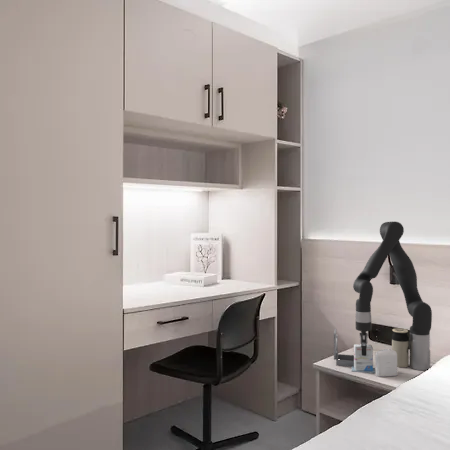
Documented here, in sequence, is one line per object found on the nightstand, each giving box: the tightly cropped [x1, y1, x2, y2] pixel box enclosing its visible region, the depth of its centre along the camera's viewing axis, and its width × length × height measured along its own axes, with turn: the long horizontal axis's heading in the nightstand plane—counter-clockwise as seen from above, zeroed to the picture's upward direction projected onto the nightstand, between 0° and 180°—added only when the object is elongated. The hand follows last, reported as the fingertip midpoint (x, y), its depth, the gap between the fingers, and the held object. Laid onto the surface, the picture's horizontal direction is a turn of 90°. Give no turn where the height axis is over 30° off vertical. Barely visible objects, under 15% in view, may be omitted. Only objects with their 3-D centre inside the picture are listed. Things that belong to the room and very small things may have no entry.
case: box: [333, 328, 354, 368], centre depth 245 cm, size 16×11×16 cm
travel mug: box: [391, 327, 410, 368], centre depth 241 cm, size 8×8×18 cm
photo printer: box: [374, 348, 398, 377], centre depth 227 cm, size 10×4×12 cm, turn 96°
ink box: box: [353, 343, 374, 371], centre depth 234 cm, size 9×5×12 cm, turn 82°
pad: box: [351, 366, 376, 374], centre depth 234 cm, size 11×7×1 cm, turn 74°
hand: (363, 352), depth 234 cm, fingers open, 8 cm apart
